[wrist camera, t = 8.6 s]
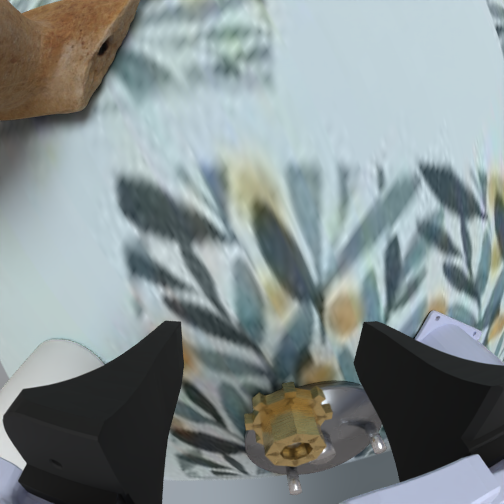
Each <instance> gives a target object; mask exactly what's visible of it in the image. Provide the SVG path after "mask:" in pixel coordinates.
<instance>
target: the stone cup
mask: <svg viewBox="0 0 504 504" xmlns="http://www.w3.org/2000/svg"><path fill="white" fill-rule="evenodd" d="M139 2H140V0H62V1H58V2H54V3H51V4H47V5H44V6H40V7H38V8H35V9H32V10H29V11H26V12H24V13H22V14H21V13H20V12H19V11H18V10H17V9H16V8H14V7H13V6H12V5H11V3H10V2H9V1H7V0H0V120H1V121H4V120H17V119H24V118H31V117H38V116H44V115H52V114H66V113H74V112H78V111H82V110H83V109H84V108H85V107H86V106H87V104H88V102H89V99H90V98H91V96H92V94H93V93H94V92H95V90H96V89H97V88H98V86H99V85H100V83H101V82H102V78H103V77H104V75H105V74H106V72H107V70H108V68H109V66H110V65H111V63H112V62H113V60H114V58H115V54H116V51H117V50H118V48H119V47H120V46H121V44H122V42H123V40H124V38H125V36H126V35H127V33H128V29H129V26H130V23H131V22H132V21H133V19H134V16H135V13H136V10H137V7H138V4H139Z"/></svg>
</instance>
